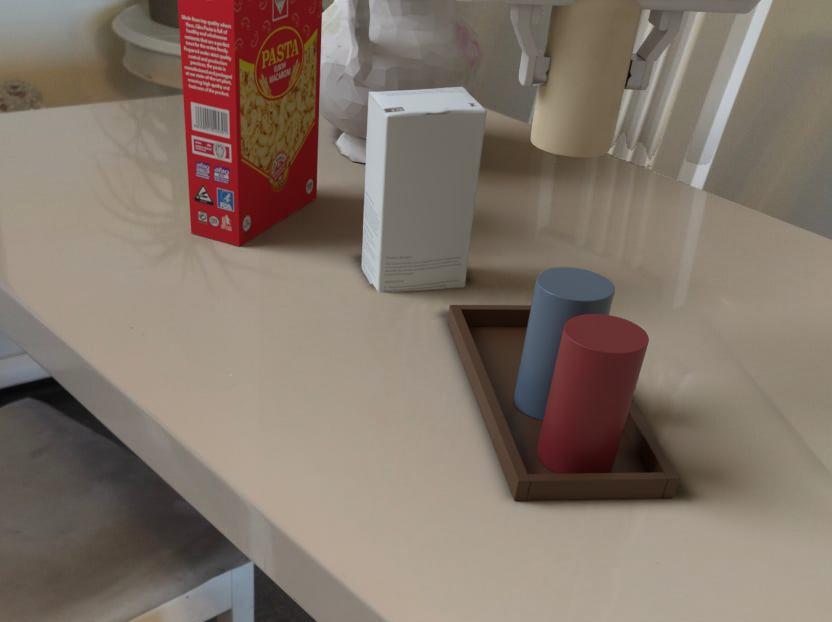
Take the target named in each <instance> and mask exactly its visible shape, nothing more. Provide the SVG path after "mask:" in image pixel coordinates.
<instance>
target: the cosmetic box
mask: <svg viewBox="0 0 832 622" xmlns="http://www.w3.org/2000/svg"><path fill="white" fill-rule="evenodd" d="M487 114H488V111H487V109H486V108H484V107H483V105H482V104H480V103H479V101H478V100H476V98H475V99H474V98H473V97H472V96H471V95H470V94H469V93H468V92H467V91H466V89H464V88H463V87H450V88H436V89H421V90H402V91H382V92H369V98H368V119H367V138H366V163H365V171H364V173H365V174H364V176H365V178H364V196H363V197H364V199H363V217H362V218H363V219H362V222H363V224H362V244H361V245H362V248H361V271H362V272H363V274H364V275H365V277H366V280H367V281H368V282H369V284H370V285H373V286H374V289H376V291H377V292H378V293H397V292H398V293H399V292H400V293H401V292H415V291H416V292H417V291H431V290H433V291H434V290H442V289H455V288H465V287H466V281H467V280H466V279H467V272H468V264H469V255H470V248H471V247H470V246H471V239H472V230H473V222H474V215H475V204H476V199H477V190H478V184H479V175H480V167H481V158H482V150H483V144H484V143H483V142H484V134H485V127H486V119H487Z"/></svg>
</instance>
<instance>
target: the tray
mask: <svg viewBox="0 0 832 622" xmlns="http://www.w3.org/2000/svg"><path fill="white" fill-rule="evenodd" d="M531 305H532V304H449V306H448V315H447V326H448V328H449V331H450V334H451V336H452V339H453V342H454V345H455V347H456V350H457V352H458V355H459V358H460V360H461V363H462V366H463V369H464V371H465V374H466V376H467V379H468V382H469V384H470V387H471V390H472V392H473V395H474V398H475V401H476V403H477V405H478V408H479V411H480V414H481V416H482V419H483V421H484V424H485V427H486V430H487V433H488V435H489V437H490V440H491V443H492V446H493V448H494V452H495V454H496V457H497V460H498V461H499V465H500V467H501V470H502V473H503V475H504V477H505V481H506V483H507V485H508V486H507V487H508V488H509V491H510V494H511V497H512V499H513V501H514V502H552V501H554V502H555V501H556V502H557V501H558V502H559V501H563V502H564V501H615V500H616V501H617V500H621V501H622V500H673V499H674V497H675V494H676V490H677V488H678V485H679V483H680V477H679V475H678V473H677V472H676V470H675V468H674V467H673V465H672V463H671V462H670V460H669V458H668V457H667V455H666V453H665V452H664V450H663V448H662V447H661V445H660V443H659V441H658V440H657V438H656V437H655V435H654V433H653V432H652V430H651V428H650V426H649V425H648V423H647V422H646V420H645V418H644V417H643V415H642V413H641V412H640V410H639V407H638V406H637V405H636V403H635V401H634V400H633V399H632V402H631V406H630V409H629V413H628V416H627V419H626V423H625V426H624V430H623V433H622V437H621V440H620V444H619V447H618V451H617V454H616V458H615V461H614V465H613V468H612V469H611V471H610V472H609V473H578V474H557V473H554V472H552V471H551V470H549V469H547V468H546V467H545V466H544V465H543V464H542V463H541V462H540V461H539V459H538V457H537V447H538V442H539V437H540V433H541V428H542V424H543V420H539V419H536V418H533V417H530V416H528V415H526V414H525V413H523V412H522V411H520V410H519V409H518V408H517V406H516V405H515V402H514V394H515V389H516V383H517V378H518V373H519V368H520V363H521V357H522V352H523V347H524V342H525V336H526V331H527V326H528V321H529V316H530V310H531Z"/></svg>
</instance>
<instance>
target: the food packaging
mask: <svg viewBox="0 0 832 622" xmlns="http://www.w3.org/2000/svg"><path fill="white" fill-rule="evenodd" d="M177 9H178V26H179V40H180V41H179V45H180V62H181V63H180V64H181V79H182V95H183V96H182V97H183V98H182V99H183V113H184V130H185V131H184V132H185V134H184V135H185V148H186V150H185V151H186V165H187V168H186V170H187V185H188V201H189V202H188V203H189V220H190V233H191V234H193V235H196V236H199V237H203V238H207V239H212V240H214V241H218V242H222V243H225V244H228V245H233V246H236V247H241V246H242V245H245V244H246V243H247V242H249V241H250V240H252V239H253V238H256V237H257V236H258V235H260V234H262V233H263V232H265V231H266V230H268V229H270V228H272V227H273V226H274V225H276V224H278V223H279V222H281V221H283V220H284V219H286V218H287V217H289V216H290V215H292V214H294V213H295V212H297V211H298V210H300V209H302V208H303V207H305V206H306V205H308V204H310V203H311V202H313V201H314V200H316V199H317V198H318V197H317V192H318V166H319V165H318V163H319V162H318V161H319V159H318V158H319V127H320V112H319V99H320V66H321V33H322V13H323V0H177Z"/></svg>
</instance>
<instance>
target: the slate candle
mask: <svg viewBox="0 0 832 622" xmlns="http://www.w3.org/2000/svg"><path fill="white" fill-rule="evenodd" d="M615 291H616V288H615V285H614V283H613V282H612V281H611V280H610V279H609V278H607V277H606V276H604V275H602V274H600V273H598V272H594V271H592V270H588V269H584V268H579V267H571V266H570V267H567V266H563V267H562V266H561V267H552V268H548V269H544V270H543V271H541V272H540V273H539V274H538V275H537V277H536V280H535V284H534V290H533V294H532V295H533V296H532V301H531V304H530V305H531V310H530V316H529V321H528V326H527V331H526V336H525V342H524V347H523V352H522V357H521V363H520V368H519V373H518V378H517V383H516V389H515V394H514V402H515V405H516V406H517V408H518V409H519V410H520V411H522V412H523V413H525V414H526V415H528V416H530V417H533V418H536V419H539V420H543V419H544V415H545V410H546V406H547V401H548V396H549V392H550V387H551V383H552V378H553V374H554V369H555V364H556V360H557V355H558V351H559V346H560V342H561V337H562V333H563V328H564V325H565V323H566V322H567V321H568V320H569V319H571V318H573V317H575V316H579V315H584V314H605V315H610V312H611V308H612V304H613V300H614V295H615V293H616V292H615Z"/></svg>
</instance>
